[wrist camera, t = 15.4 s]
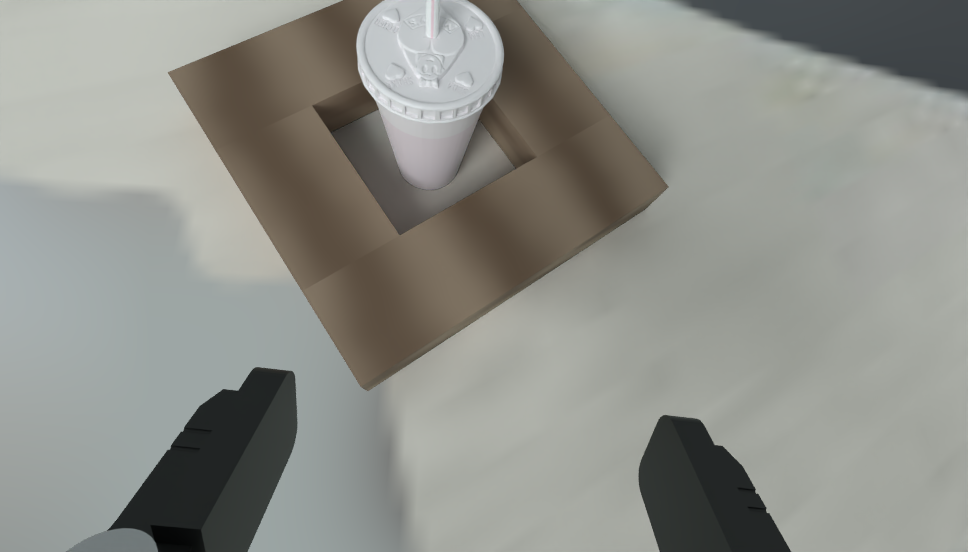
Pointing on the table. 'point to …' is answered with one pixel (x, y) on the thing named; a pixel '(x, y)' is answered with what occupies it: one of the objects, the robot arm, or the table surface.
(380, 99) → the smoothie
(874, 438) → the table surface
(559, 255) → the caddy
